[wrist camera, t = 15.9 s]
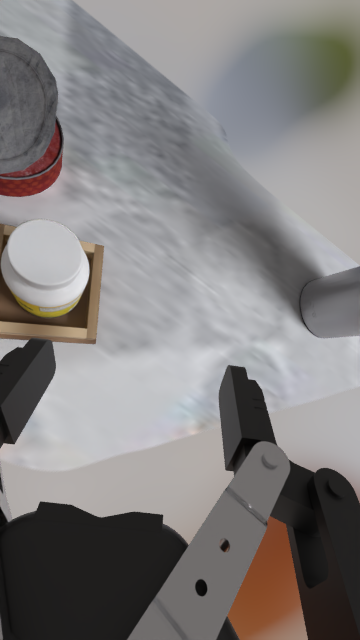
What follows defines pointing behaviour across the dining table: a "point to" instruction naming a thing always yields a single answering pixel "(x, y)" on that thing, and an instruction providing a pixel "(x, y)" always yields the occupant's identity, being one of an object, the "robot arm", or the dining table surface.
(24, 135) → the canned food
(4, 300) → the wooden box
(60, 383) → the dining table surface
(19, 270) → the supplement bottle
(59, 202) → the dining table surface
